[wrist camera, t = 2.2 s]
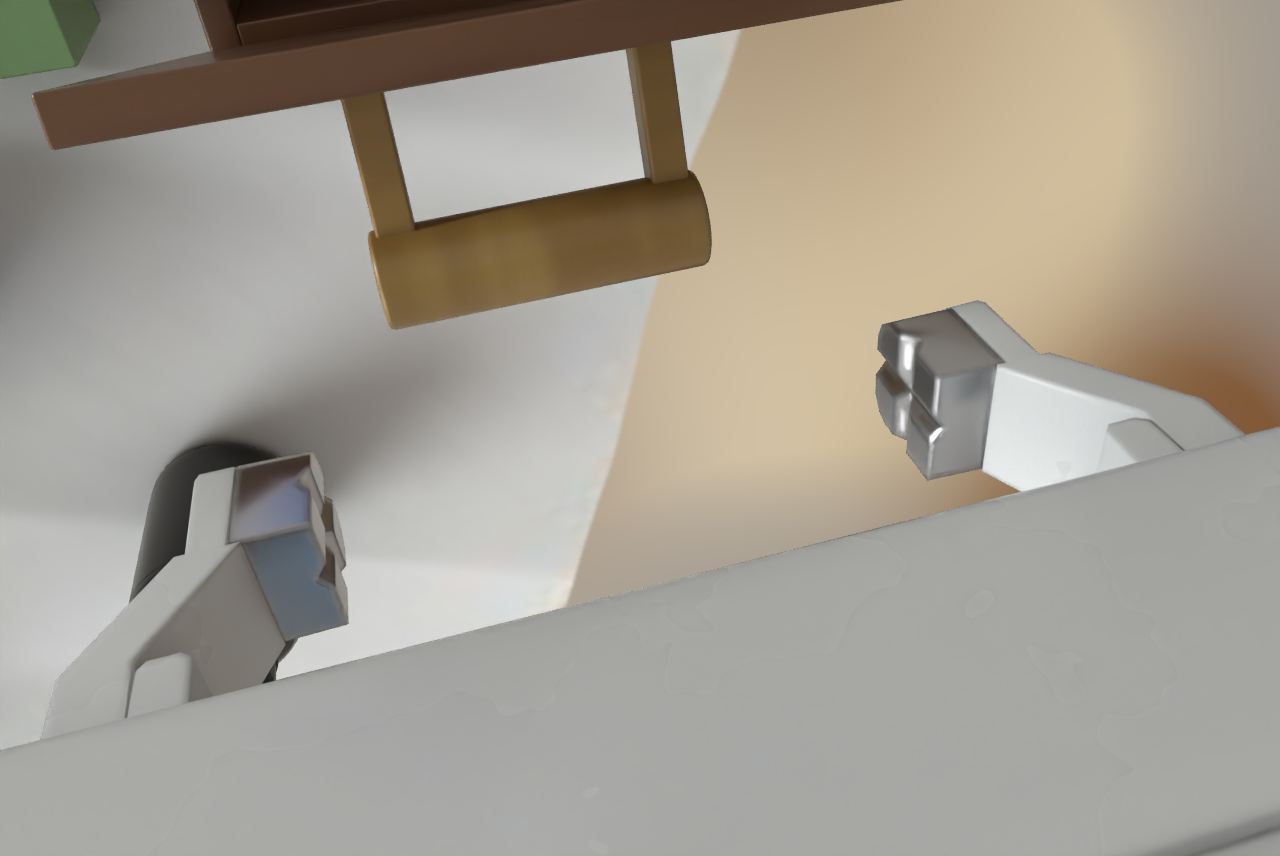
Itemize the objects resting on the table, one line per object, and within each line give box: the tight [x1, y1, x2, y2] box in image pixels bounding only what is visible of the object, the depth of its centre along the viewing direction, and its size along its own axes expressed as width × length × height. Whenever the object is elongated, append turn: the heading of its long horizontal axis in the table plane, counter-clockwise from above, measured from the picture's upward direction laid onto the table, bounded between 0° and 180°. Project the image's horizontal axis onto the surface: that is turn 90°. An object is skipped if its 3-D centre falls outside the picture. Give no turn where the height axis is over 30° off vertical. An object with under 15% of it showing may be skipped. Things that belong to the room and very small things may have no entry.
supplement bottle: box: [129, 444, 298, 684], centre depth 45 cm, size 7×7×12 cm
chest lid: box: [32, 0, 900, 330], centre depth 24 cm, size 17×14×5 cm
